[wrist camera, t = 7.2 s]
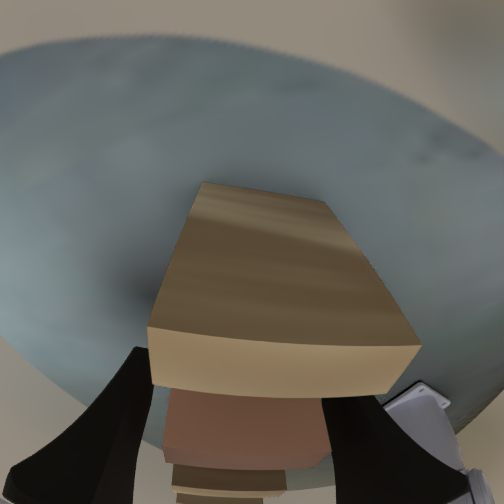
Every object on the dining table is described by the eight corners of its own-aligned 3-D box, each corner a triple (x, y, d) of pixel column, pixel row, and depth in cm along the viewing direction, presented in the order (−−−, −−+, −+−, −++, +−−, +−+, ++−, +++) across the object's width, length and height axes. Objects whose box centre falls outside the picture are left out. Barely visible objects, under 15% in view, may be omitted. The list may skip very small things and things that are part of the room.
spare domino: (287, 321, 15) (313, 467, 8) (189, 309, 14) (165, 462, 7) (295, 297, 14) (331, 451, 7) (191, 284, 13) (162, 446, 6)
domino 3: (266, 378, 17) (278, 497, 10) (187, 371, 17) (173, 492, 10) (272, 363, 16) (287, 490, 9) (187, 354, 16) (171, 485, 9)
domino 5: (314, 236, 13) (386, 393, 6) (198, 219, 12) (152, 384, 5) (324, 202, 12) (422, 344, 5) (202, 182, 11) (146, 326, 4)
